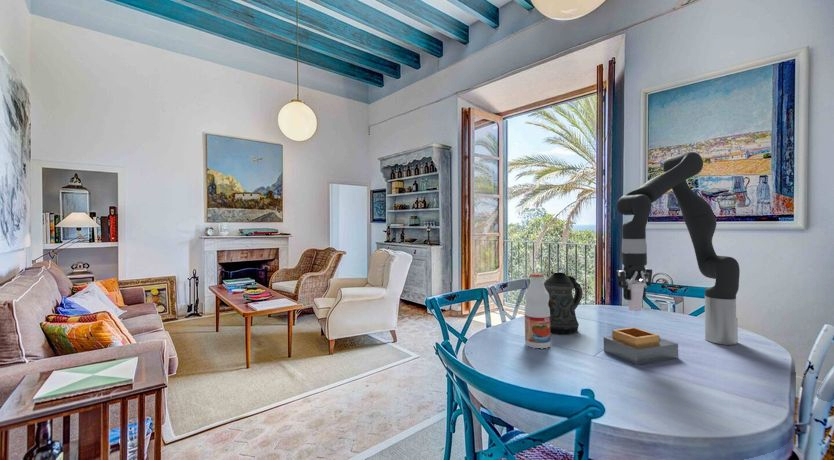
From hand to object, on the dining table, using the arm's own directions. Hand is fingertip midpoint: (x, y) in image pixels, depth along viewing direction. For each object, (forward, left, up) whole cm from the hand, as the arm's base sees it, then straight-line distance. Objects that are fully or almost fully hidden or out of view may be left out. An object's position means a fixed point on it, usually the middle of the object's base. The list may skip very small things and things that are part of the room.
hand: (634, 298), depth 124 cm
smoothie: (0, 0, -4) cm, 4 cm away
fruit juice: (+26, -20, -20) cm, 39 cm away
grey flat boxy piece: (-3, 0, -20) cm, 20 cm away
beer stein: (+4, -35, -20) cm, 41 cm away
